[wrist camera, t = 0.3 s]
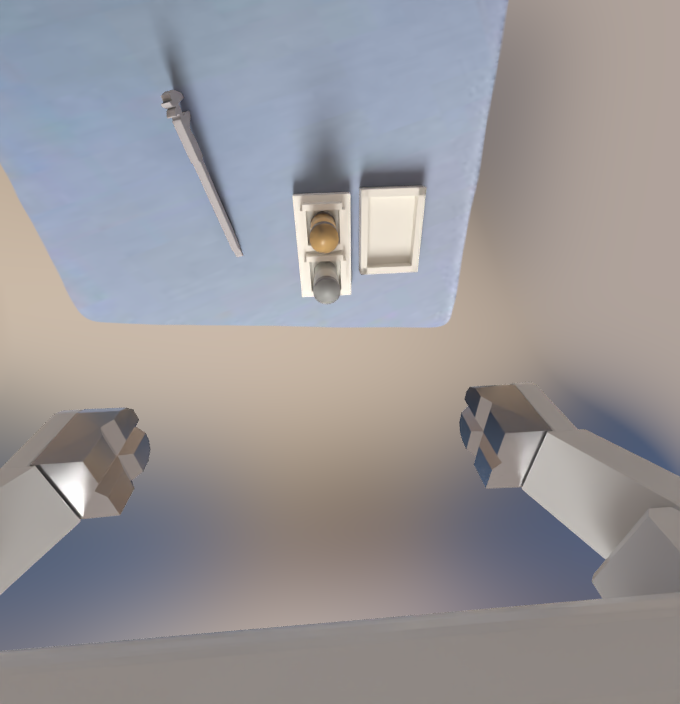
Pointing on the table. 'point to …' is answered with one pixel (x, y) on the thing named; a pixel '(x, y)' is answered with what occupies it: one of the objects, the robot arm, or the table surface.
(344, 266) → the block
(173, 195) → the table surface
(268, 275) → the table surface
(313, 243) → the fuse
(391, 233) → the parts tray
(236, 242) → the caliper
